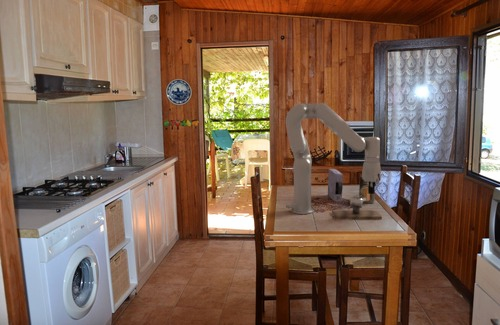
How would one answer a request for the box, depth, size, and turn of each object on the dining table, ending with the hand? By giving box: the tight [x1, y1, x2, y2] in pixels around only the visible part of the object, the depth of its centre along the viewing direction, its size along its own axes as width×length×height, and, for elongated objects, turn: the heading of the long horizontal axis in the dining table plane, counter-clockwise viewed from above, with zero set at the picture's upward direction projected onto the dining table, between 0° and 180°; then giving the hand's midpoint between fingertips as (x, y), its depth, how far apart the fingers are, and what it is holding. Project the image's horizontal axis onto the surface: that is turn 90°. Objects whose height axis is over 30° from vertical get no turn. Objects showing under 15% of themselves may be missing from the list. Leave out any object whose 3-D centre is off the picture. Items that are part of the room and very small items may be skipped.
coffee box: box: [358, 174, 376, 204], centre depth 246 cm, size 9×6×16 cm
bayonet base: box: [331, 205, 383, 220], centre depth 217 cm, size 24×12×6 cm, turn 86°
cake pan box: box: [327, 168, 344, 203], centre depth 255 cm, size 19×5×18 cm, turn 3°
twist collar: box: [349, 187, 370, 207], centre depth 219 cm, size 15×6×8 cm, turn 132°
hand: (371, 193), depth 220 cm, fingers closed
